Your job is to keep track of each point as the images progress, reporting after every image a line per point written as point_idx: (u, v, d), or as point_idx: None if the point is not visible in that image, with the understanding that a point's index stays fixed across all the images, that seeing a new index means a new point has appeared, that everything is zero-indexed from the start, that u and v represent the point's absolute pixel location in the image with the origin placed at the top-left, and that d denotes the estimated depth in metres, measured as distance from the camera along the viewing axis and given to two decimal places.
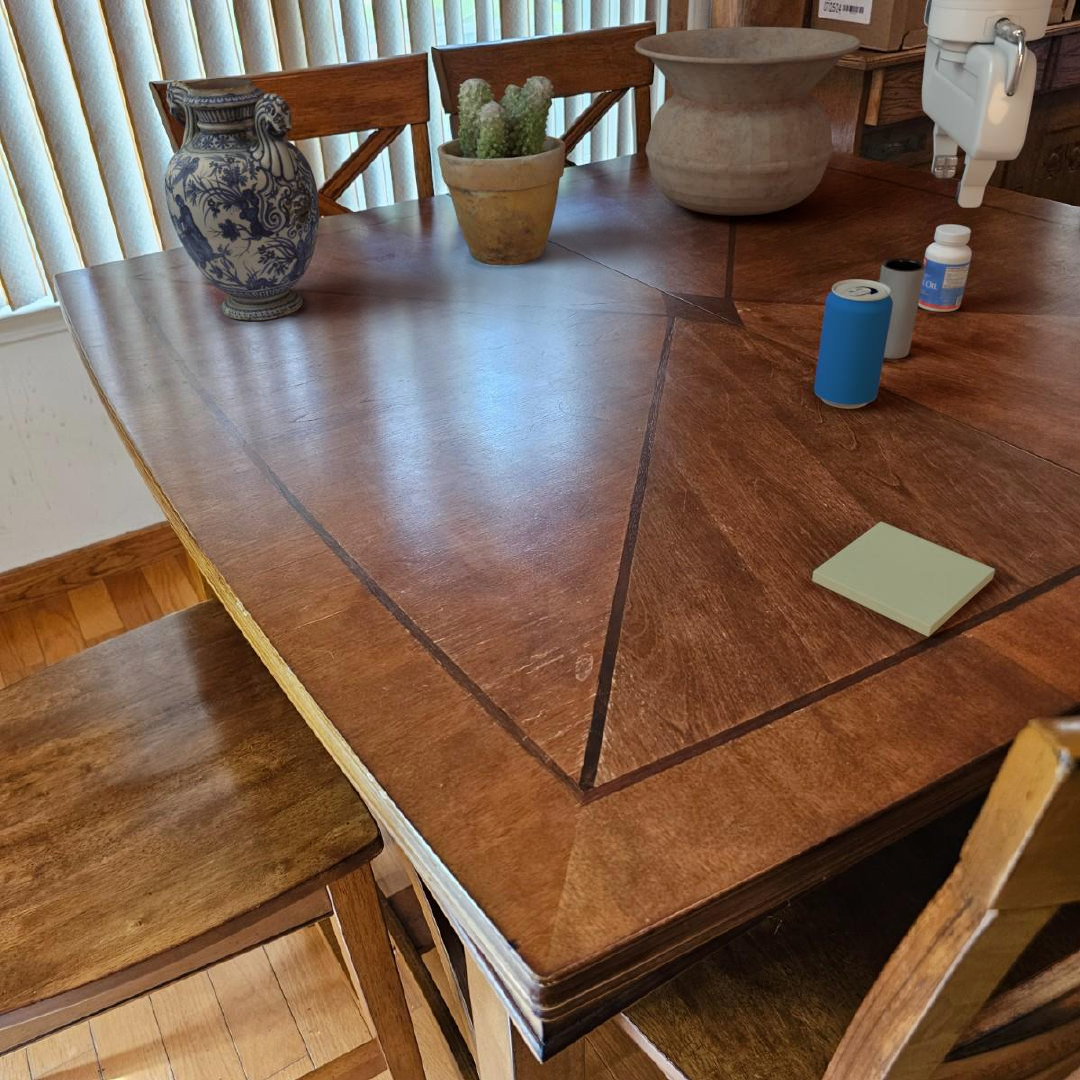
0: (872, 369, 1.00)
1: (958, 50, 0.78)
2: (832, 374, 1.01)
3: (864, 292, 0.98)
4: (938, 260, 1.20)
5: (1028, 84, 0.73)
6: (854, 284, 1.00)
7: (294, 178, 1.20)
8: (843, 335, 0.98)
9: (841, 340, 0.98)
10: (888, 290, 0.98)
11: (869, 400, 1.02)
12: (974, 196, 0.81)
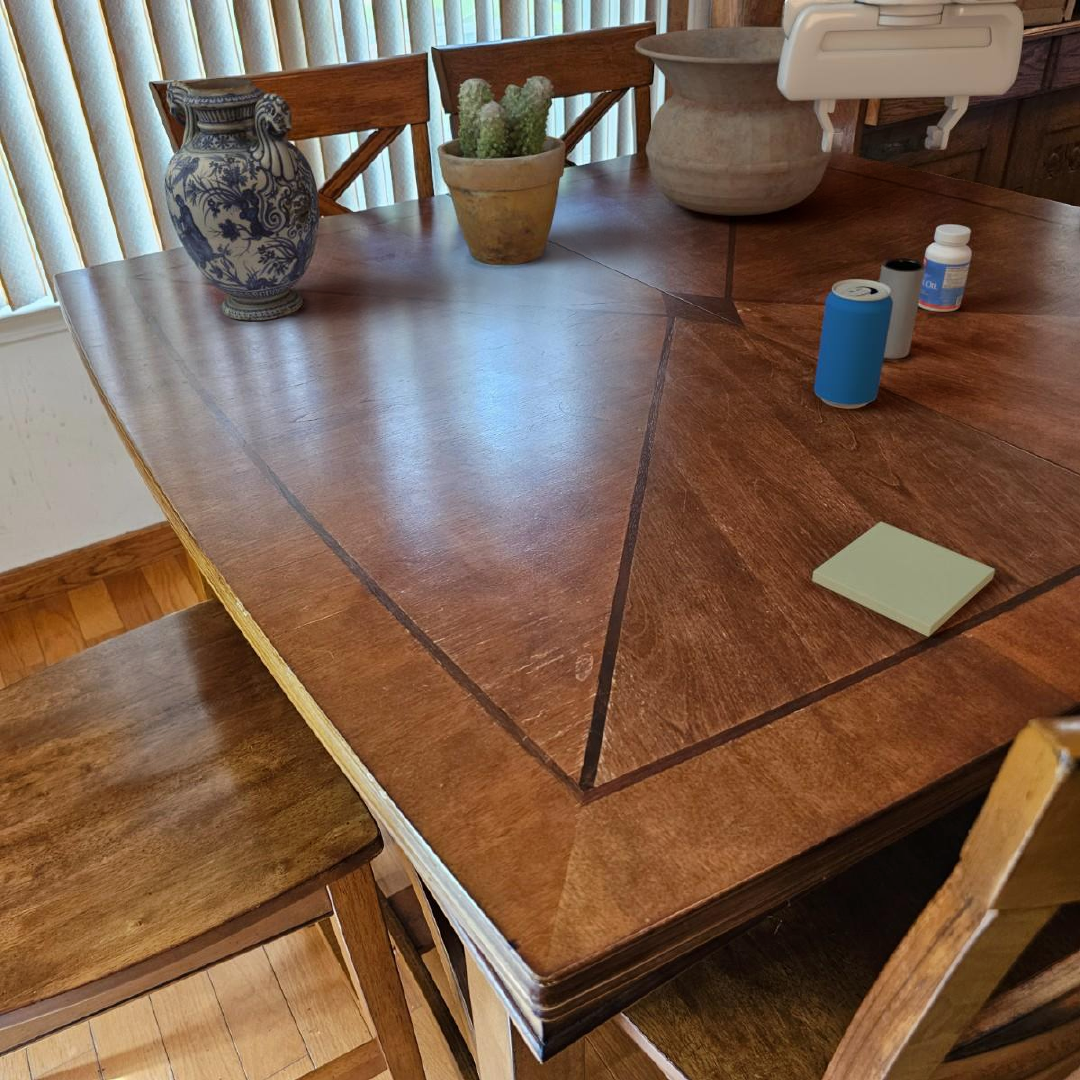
0: (872, 369, 1.00)
1: None
2: (832, 374, 1.01)
3: (864, 292, 0.98)
4: (938, 260, 1.20)
5: (793, 32, 0.84)
6: (854, 284, 1.00)
7: (294, 178, 1.20)
8: (843, 335, 0.98)
9: (841, 340, 0.98)
10: (888, 290, 0.98)
11: (869, 400, 1.02)
12: (825, 141, 0.90)
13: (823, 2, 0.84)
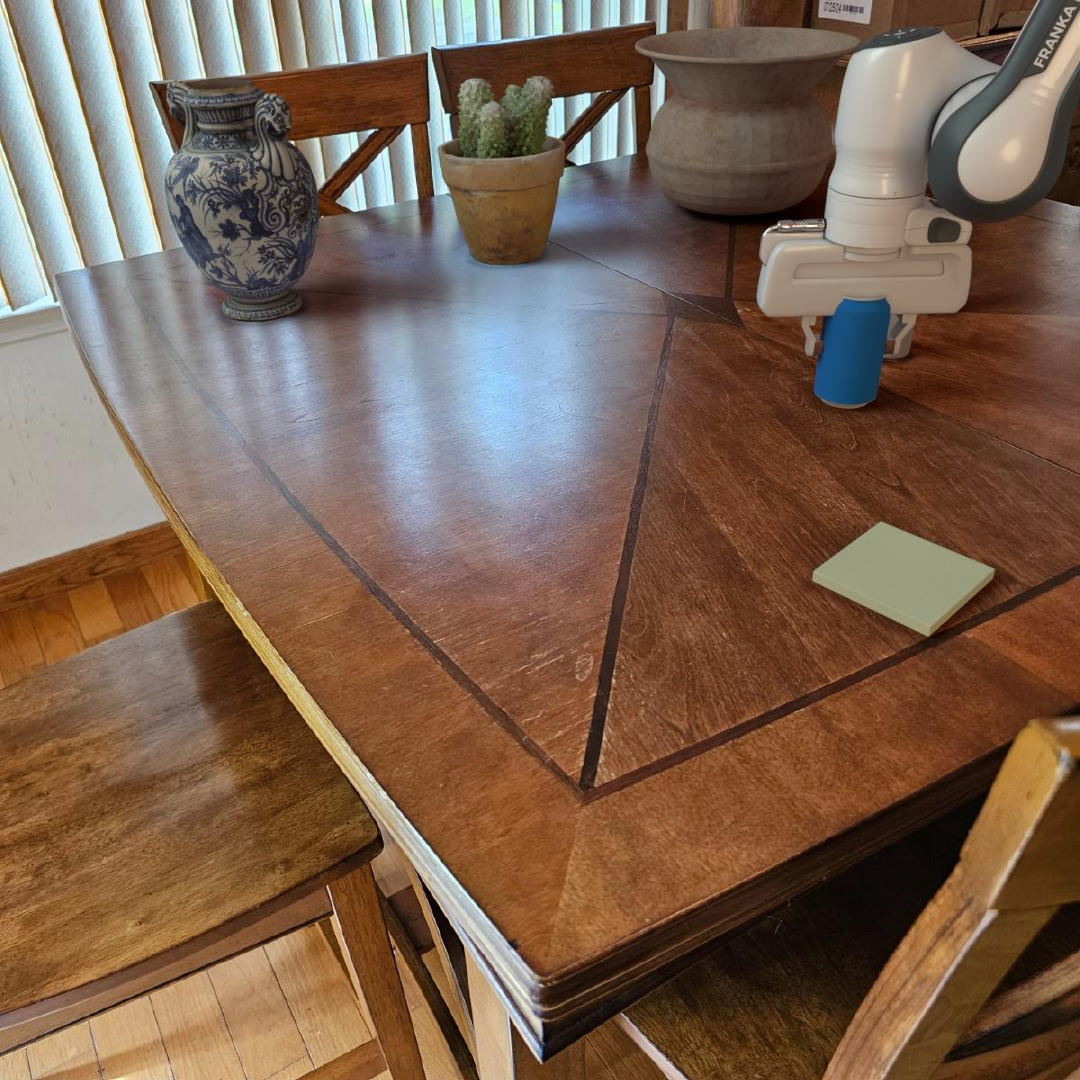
0: (872, 369, 1.00)
1: None
2: (831, 374, 1.01)
3: None
4: None
5: (769, 263, 0.96)
6: None
7: (294, 178, 1.20)
8: (843, 335, 0.98)
9: (840, 340, 0.98)
10: None
11: (869, 400, 1.02)
12: (807, 346, 1.01)
13: (795, 238, 0.95)
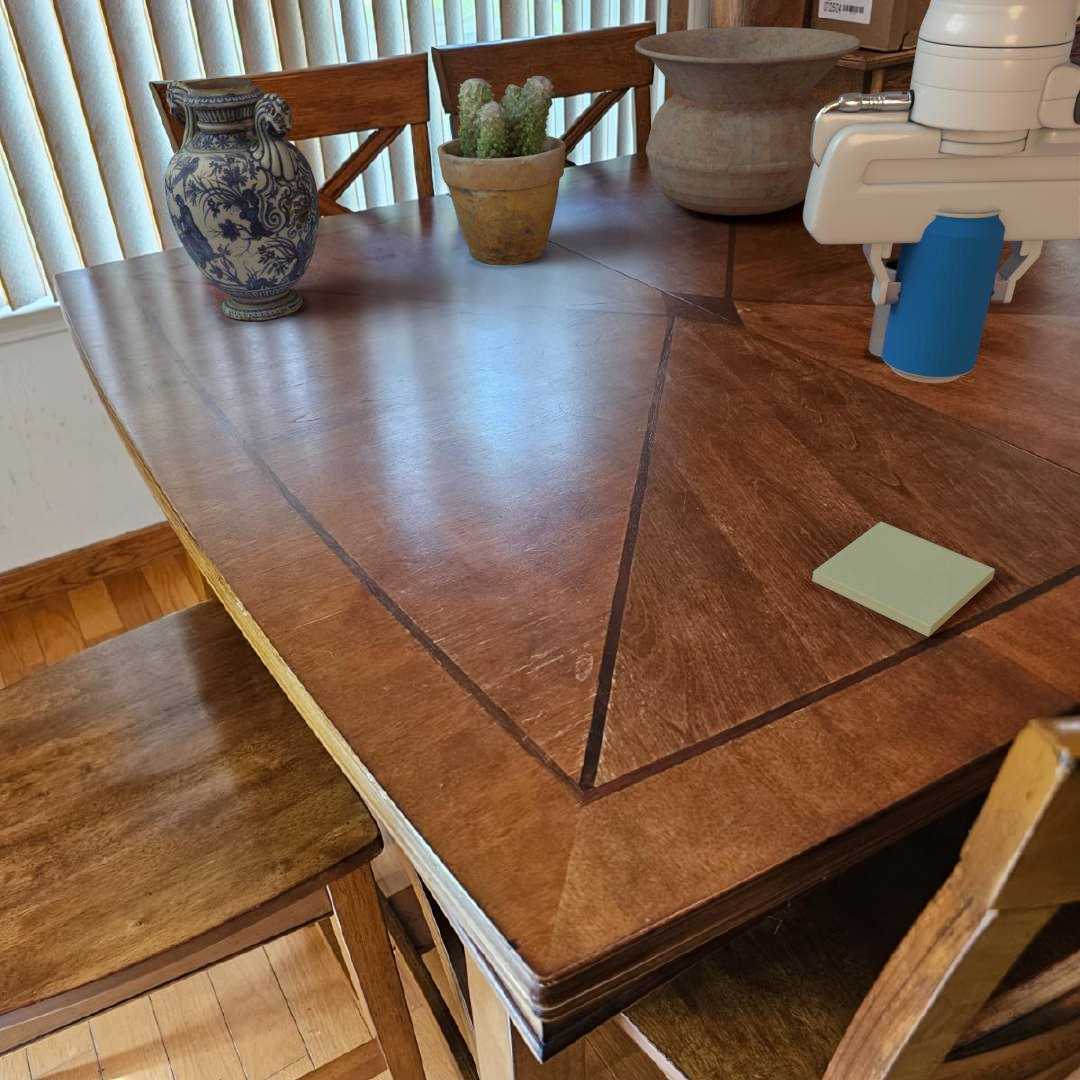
0: (973, 324, 0.68)
1: None
2: (912, 331, 0.69)
3: None
4: None
5: (825, 159, 0.63)
6: None
7: (294, 178, 1.20)
8: (932, 272, 0.66)
9: (928, 279, 0.66)
10: None
11: (965, 371, 0.70)
12: (876, 291, 0.69)
13: (866, 121, 0.63)
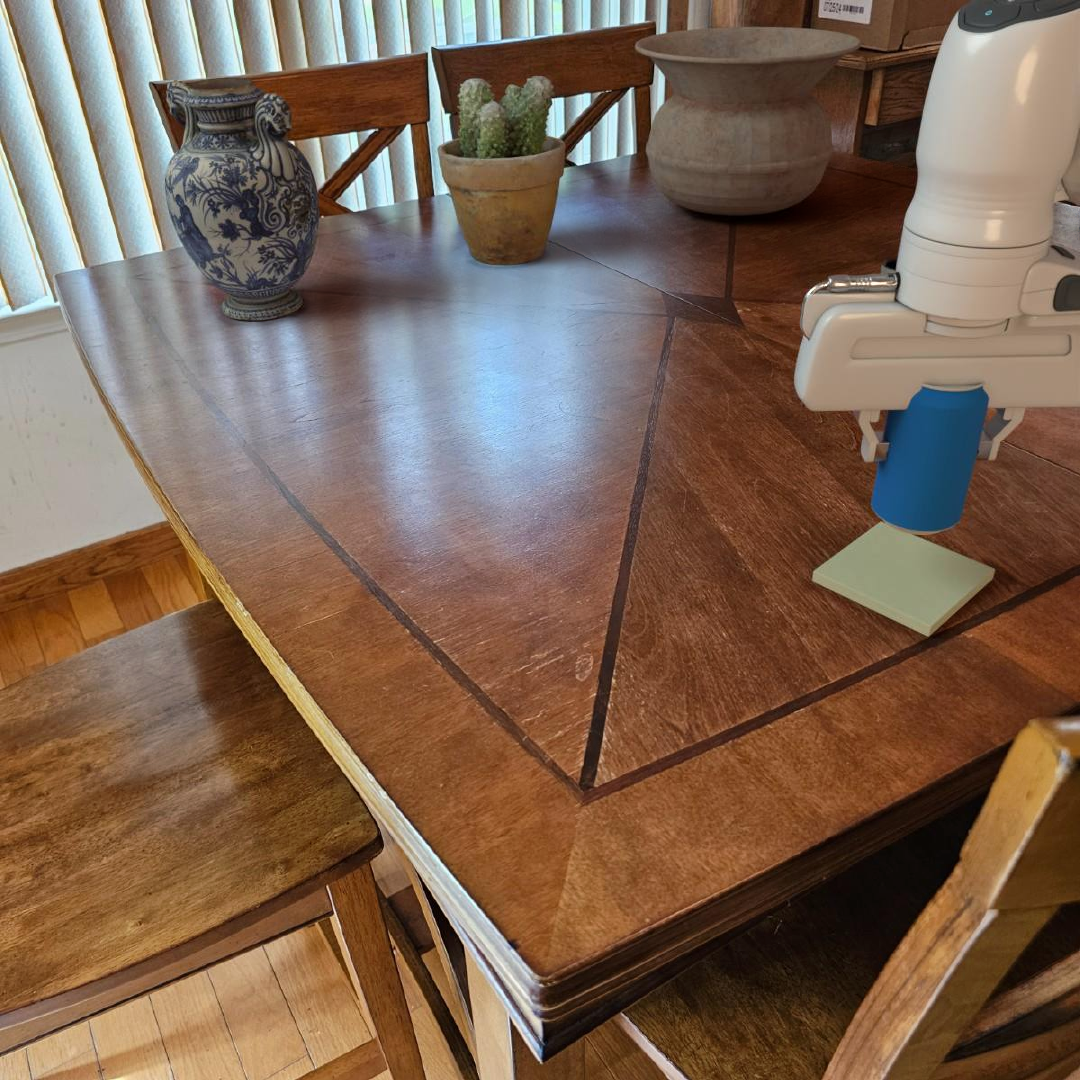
0: (959, 484, 0.70)
1: None
2: (900, 489, 0.71)
3: None
4: None
5: (815, 336, 0.66)
6: None
7: (294, 178, 1.20)
8: (919, 438, 0.68)
9: (915, 444, 0.68)
10: None
11: (952, 524, 0.72)
12: (865, 449, 0.71)
13: (854, 301, 0.65)
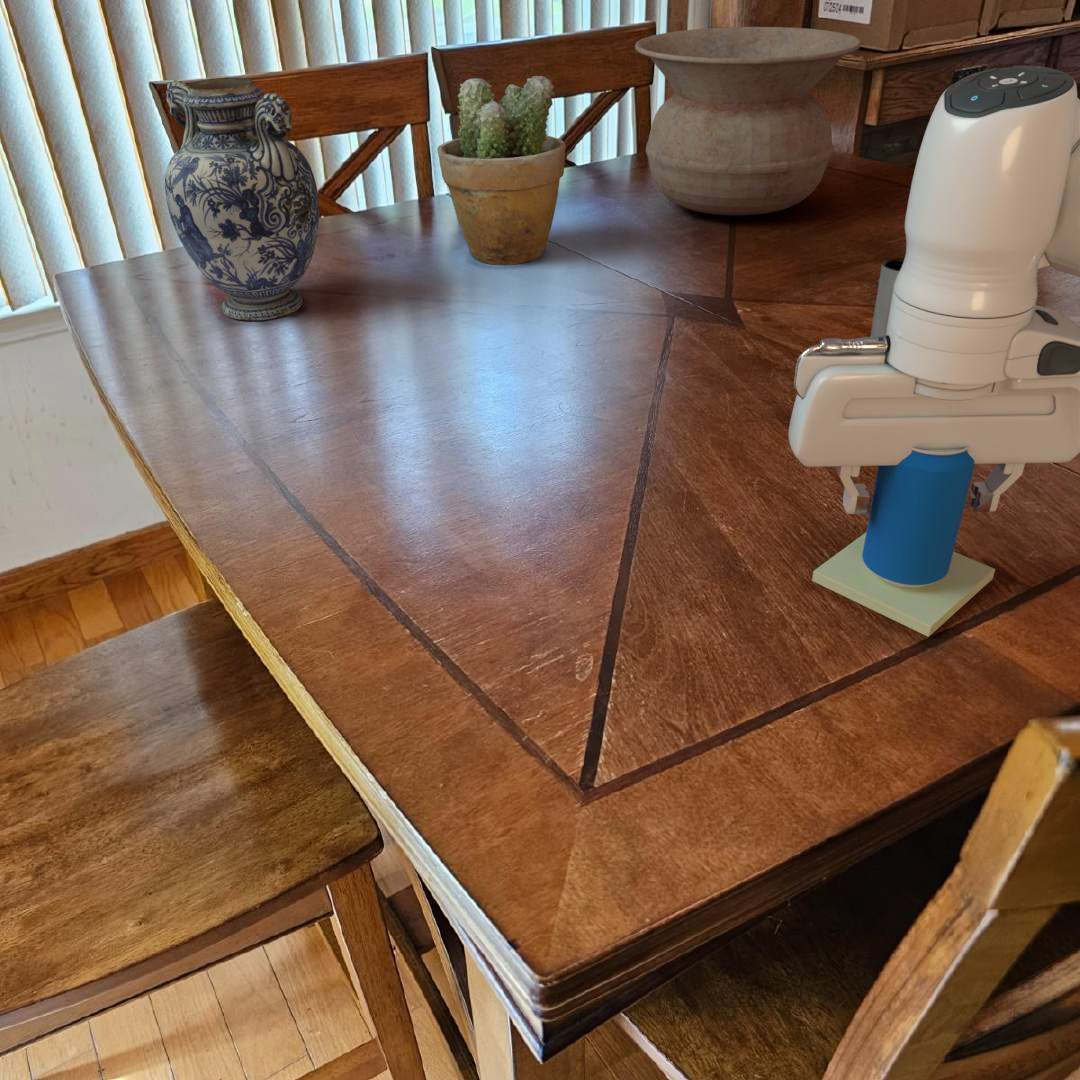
0: (946, 541, 0.73)
1: None
2: (889, 545, 0.74)
3: None
4: None
5: (808, 396, 0.68)
6: None
7: (294, 178, 1.20)
8: (907, 498, 0.71)
9: (903, 504, 0.71)
10: None
11: (939, 578, 0.75)
12: (847, 501, 0.74)
13: (846, 363, 0.67)
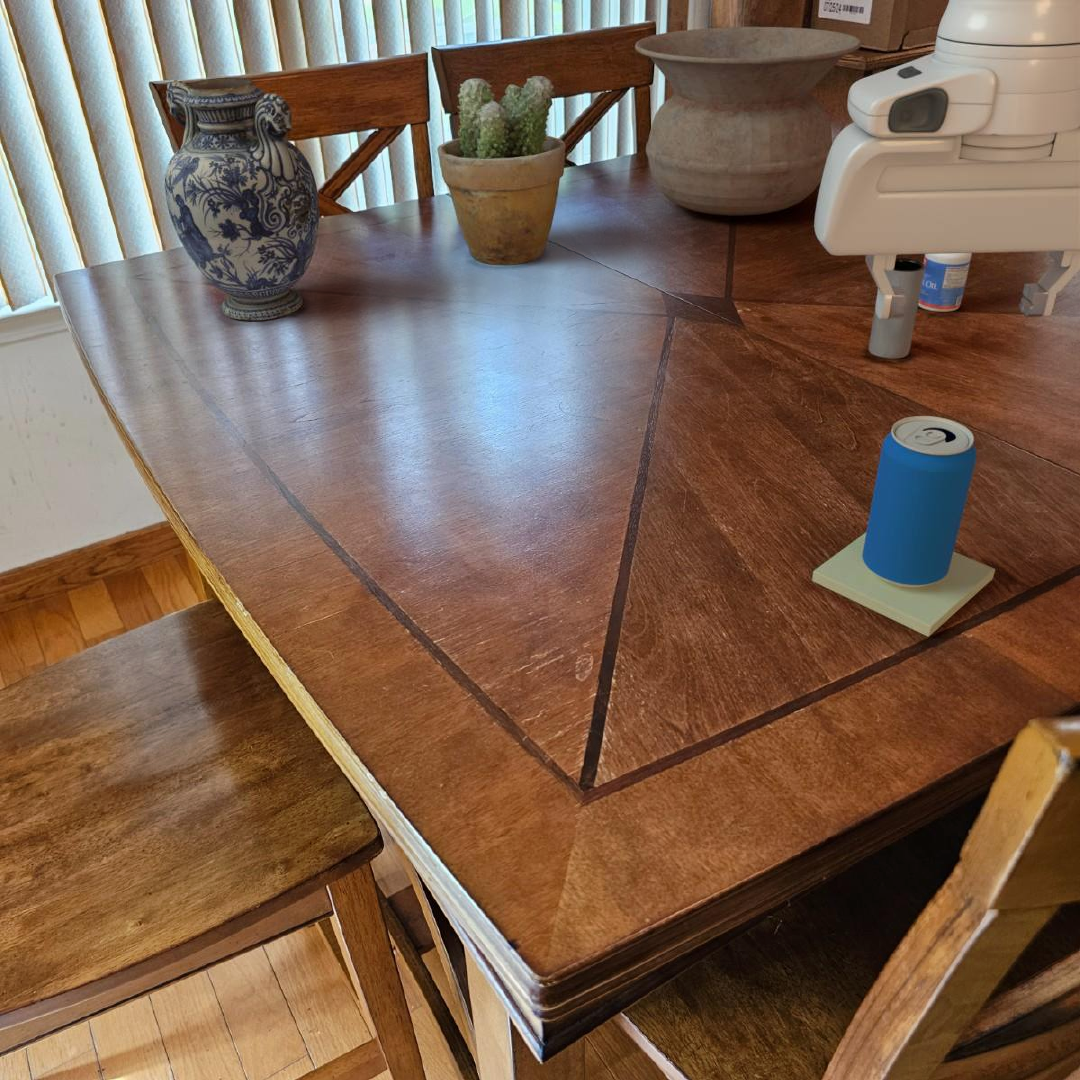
0: (946, 541, 0.73)
1: (1047, 142, 0.57)
2: (889, 544, 0.74)
3: (937, 439, 0.70)
4: (938, 260, 1.20)
5: None
6: (921, 424, 0.73)
7: (294, 178, 1.20)
8: (907, 498, 0.71)
9: (904, 504, 0.71)
10: (970, 436, 0.70)
11: (939, 578, 0.75)
12: None
13: None
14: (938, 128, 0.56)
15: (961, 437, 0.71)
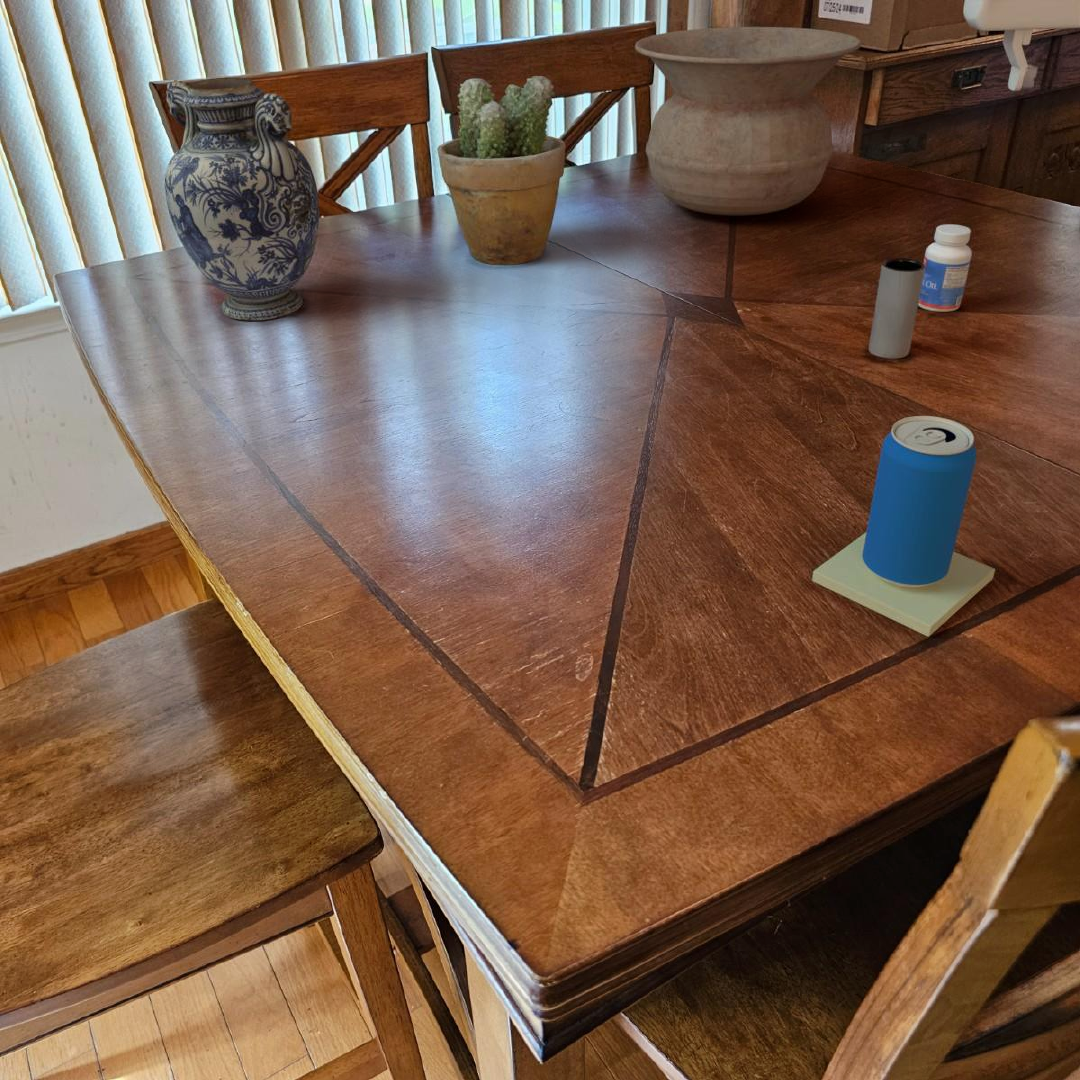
0: (946, 541, 0.73)
1: None
2: (889, 544, 0.74)
3: (937, 439, 0.70)
4: (938, 260, 1.20)
5: None
6: (921, 424, 0.73)
7: (294, 178, 1.20)
8: (907, 498, 0.71)
9: (904, 503, 0.71)
10: (970, 436, 0.70)
11: (940, 578, 0.75)
12: None
13: None
14: None
15: (961, 437, 0.71)
